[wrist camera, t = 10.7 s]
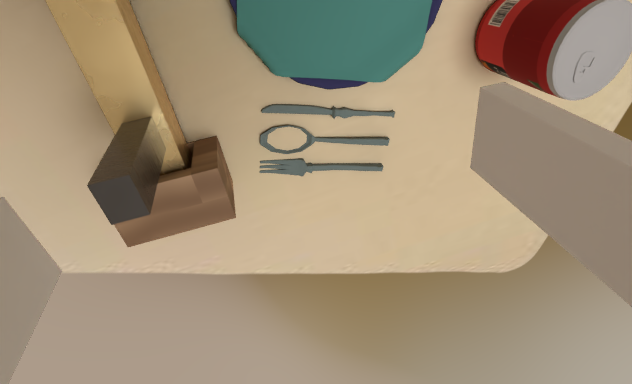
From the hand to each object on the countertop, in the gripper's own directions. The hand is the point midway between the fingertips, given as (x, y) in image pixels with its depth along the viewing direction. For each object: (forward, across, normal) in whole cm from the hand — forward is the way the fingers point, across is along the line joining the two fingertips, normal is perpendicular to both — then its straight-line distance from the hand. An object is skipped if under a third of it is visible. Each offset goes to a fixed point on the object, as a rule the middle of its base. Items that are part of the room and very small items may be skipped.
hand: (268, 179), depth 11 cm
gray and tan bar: (+26, -10, -1) cm, 28 cm away
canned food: (+27, +28, -6) cm, 39 cm away
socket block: (+26, -9, -13) cm, 31 cm away
